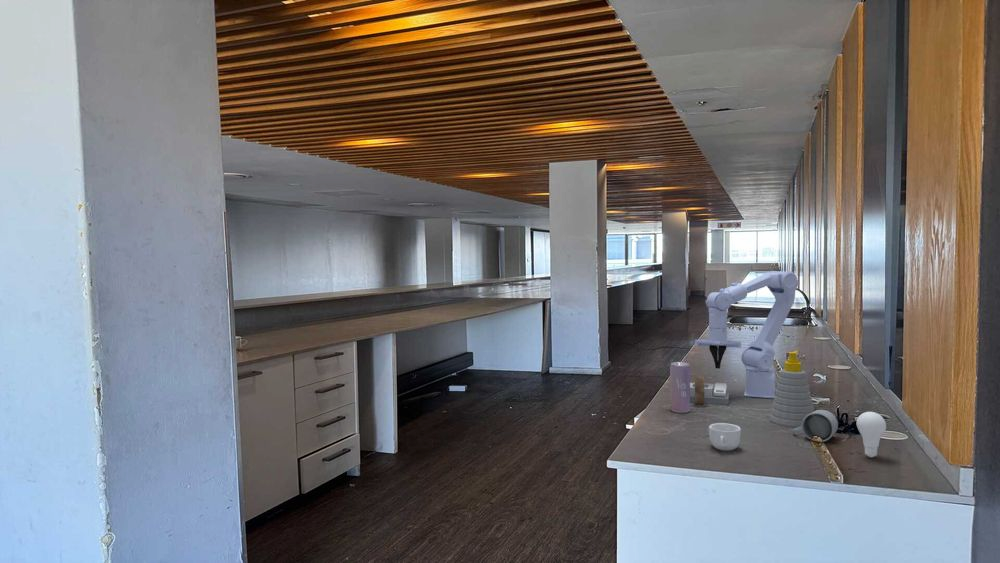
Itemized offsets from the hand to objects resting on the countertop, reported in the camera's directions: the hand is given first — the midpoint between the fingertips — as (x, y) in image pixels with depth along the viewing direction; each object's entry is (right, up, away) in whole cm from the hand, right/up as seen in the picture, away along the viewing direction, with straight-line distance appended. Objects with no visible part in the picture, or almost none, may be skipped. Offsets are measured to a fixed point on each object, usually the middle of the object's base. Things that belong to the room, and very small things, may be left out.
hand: (717, 368), depth 212 cm
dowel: (-9, -11, -9) cm, 16 cm away
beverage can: (-17, -12, -15) cm, 25 cm away
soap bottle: (+12, -12, -29) cm, 34 cm away
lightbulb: (+16, -13, -61) cm, 64 cm away
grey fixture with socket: (-4, -11, -1) cm, 11 cm away
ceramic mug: (+10, -13, -45) cm, 48 cm away
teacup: (-17, -14, -53) cm, 57 cm away
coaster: (-9, -11, -9) cm, 16 cm away
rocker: (0, -7, -3) cm, 8 cm away
